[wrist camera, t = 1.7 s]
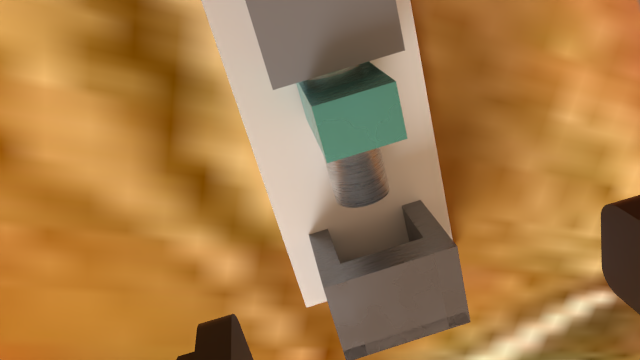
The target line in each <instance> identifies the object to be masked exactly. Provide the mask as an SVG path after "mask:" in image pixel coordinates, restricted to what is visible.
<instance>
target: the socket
mask: <svg viewBox="0 0 640 360" xmlns="http://www.w3.org/2000/svg"><path fill="white" fill-rule="evenodd" d="M402 210H403V215H404V219H405V224H406V229H407V233H408V238H409V242H408V243H405V244H402V245H399V246H395V247H392V248H389V249H386V250H383V251H380V252H376V253H373V254H370V255H367V256H364V257H361V258H357V259H354V260H351V261H348V262H345V263H342V264H340V261H339V259H338V256H337V253H336V250H335V247H334V245H333V242H332V239H331V236H330V233H329V231H328V229H325V230H322V231H319V232H316V233H312V234H309V238H310V242H311V246H312V249H313V253H314V256H315V260H316V264H317V267H318V271H319V274H320V278H321V282H322V285H323V289H324V292H325V295H326V298H327V301H328V304H329V308H330V311H331V314H332V317H333V320H334V323H335V326H336V330H337V333H338V336H339V339H340V342H341V345H342V348H343V352H344V355H345V358H346V360H354V359H357V358H361V357H364V356H367V355H370V354H373V353H376V352H379V351H382V350H385V349H388V348H392V347H395V346H398V345H401V344H404V343H407V342H410V341H413V340H416V339H419V338H423V337H426V336H429V335H432V334H435V333H438V332H441V331H444V330H447V329H450V328H454V327H457V326H460V325H463V324H466V323H469V322H470V317H469V312H468V306H467V300H466V294H465V289H464V283H463V277H462V271H461V266H460V260H459V254H458V248H457V245H456V244H455V243H454V242H453V240H452V239H451V238H450V236H449V235H448V234H447V233H446V231H445V230H444V229H443V228H442V226H441V225H440V224H439V223H438V221H437V220H436V219H435V217H434V216H433V215H432V214H431V212H430V211H429V210H428V209H427V207H426V206H425V205H424V203H423V202H422V201H421V200H418V201H415V202H412V203H408V204H405V205H402Z"/></svg>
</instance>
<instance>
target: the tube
mask: <svg viewBox="0 0 640 360" xmlns="http://www.w3.org/2000/svg"><path fill="white" fill-rule="evenodd" d="M296 84H297V88H298V91H299V95H300V98H301V102H302V105H303V109H304V112H305V116H306V119H307V121H308V123H309V126H310V128H311V130H312V132H313V134H314V136H315V138H316V141H317V143H318V145H319V147H320V149H321V151H322V153H323V156H324V160H325V164H326V167H327V171H328V174H329V178H330V181H331V185H332V189H333V192H334V196H335V199H336V202H337V203H338V204H339V205H340V206H343V207H347V208H358V207H364V206H368V205H371V204H374V203H376V202H378V201H380V200H382V199H383V198H384V197H385V196H386V195H387V194H388V193H389V191H390V186H389V182H388V178H387V173H386V169H385V164H384V160H383V156H382V151H381V147H382V146H385V145H389V144H392V143H395V142H398V141H402V140H405V139H408V138H407V133H406V128H405V123H404V118H403V113H402V108H401V104H400V99H399V94H398V89H397V84H396V81H395V80H394V79H392V78H391V77H389V76H388V75H387V74H385V73H384V72H383V71H381V70H380V69H379V68H377V67H376V66H374V65H373V64H372V63H370V62H369V61H368V62H365V63H361V64H358V65H355V66H351V67H348V68H345V69H342V70H338V71H335V72H332V73H328V74H325V75H322V76H318V77H315V78H312V79H308V80H305V81H302V82H298V83H296Z"/></svg>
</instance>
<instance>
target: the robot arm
mask: <svg viewBox="0 0 640 360" xmlns="http://www.w3.org/2000/svg"><path fill="white" fill-rule="evenodd" d="M601 249H602V270H603V274H604V276H605V279H606V281H607V283H608V285H609V286H610V288H611V289H612V290H613V292H614V293H615V294H616V295H617V296H619V297H620V298H621V299H622V300H623V301H624V302H626V303H627V304H628V305H629V306H630V307H631V308H633V309H634V310H635V311H636V312H637V313H638V314H640V195H638V196H635V197H631V198H628V199H625V200H621V201H618V202H614V203H611V204H608V205H605V206H604V207H603V209H602V212H601ZM176 360H253V358H252V355H251V352H250V350H249V347H248V345H247V342H246V339H245V337H244V334H243V332H242V329H241V326H240V324H239V321H238V319H237V317H236V316H235V314H231V315H228V316H225V317H221V318H218V319H214V320H211V321H208V322H204V323H201V324H199V325H198V327H197V335H196V344H195V352H192V353H188V354H185V355H182V356H178V358H177V359H176Z"/></svg>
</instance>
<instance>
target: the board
mask: <svg viewBox="0 0 640 360" xmlns="http://www.w3.org/2000/svg"><path fill="white" fill-rule="evenodd" d="M201 1H202V4H203V7H204V10H205V13H206V15H207V18H208V21H209V24H210V27H211V30H212V33H213V36H214V39H215V42H216V45H217V48H218V50H219V53H220V56H221V59H222V62H223V65H224V68H225V71H226V74H227V77H228V80H229V83H230V85H231V88H232V91H233V94H234V97H235V100H236V103H237V106H238V109H239V112H240V115H241V118H242V121H243V123H244V126H245V129H246V132H247V135H248V138H249V141H250V144H251V147H252V150H253V153H254V156H255V158H256V161H257V164H258V167H259V170H260V173H261V176H262V179H263V182H264V185H265V188H266V191H267V193H268V196H269V199H270V202H271V205H272V208H273V211H274V214H275V217H276V220H277V223H278V226H279V228H280V231H281V234H282V237H283V240H284V243H285V246H286V249H287V252H288V255H289V258H290V261H291V264H292V266H293V269H294V272H295V275H296V278H297V281H298V284H299V287H300V290H301V293H302V296H303V299H304V301H305V304H306V307H310V306H313V305H316V304H319V303H322V302H326V301H327V298H326V295H325V292H324V289H323V285H322V282H321V278H320V274H319V271H318V267H317V264H316V260H315V256H314V253H313V249H312V246H311V242H310V238H309V234H312V233H316V232H319V231H322V230H325V229H328V231H329V233H330V236H331V239H332V242H333V245H334V247H335V250H336V253H337V256H338V259H339V261H340V264H342V263H345V262H348V261H351V260H354V259H357V258H361V257H364V256H367V255H370V254H373V253H376V252H380V251H383V250H386V249H389V248H392V247H395V246H399V245H402V244H405V243H408V242H409V238H408V233H407V229H406V224H405V219H404V215H403V210H402V205H405V204H408V203H412V202H415V201H418V200H421V201H422V202H423V203H424V205H425V206H426V207H427V209H428V210H429V211H430V212H431V214H432V215H433V216H434V217H435V219H436V220H437V221H438V223H439V224H440V225H441V226H442V228H443V229H444V230H445V231H446V233H447V234H448V235H449V236H450V238H451V239H452V233H451V227H450V222H449V216H448V210H447V205H446V199H445V193H444V188H443V182H442V176H441V171H440V165H439V160H438V154H437V148H436V143H435V137H434V131H433V126H432V120H431V114H430V109H429V103H428V97H427V92H426V86H425V81H424V75H423V69H422V64H421V58H420V52H419V47H418V41H417V35H416V30H415V24H414V18H413V13H412V7H411V2H410V0H201ZM368 61H369V62H370V63H372V64H373V65H374V66H376V67H377V68H379V69H380V70H381V71H383V72H384V73H385V74H387V75H388V76H389V77H391V78H392V79H394V80H395V81H396V84H397V89H398V94H399V99H400V104H401V108H402V113H403V118H404V123H405V128H406V133H407V138H408V139H405V140H402V141H398V142H395V143H392V144H389V145H385V146H382V147H381V151H382V156H383V160H384V164H385V169H386V173H387V178H388V182H389V186H390V191H389V193H388V194H387V195H386V196H385V197H384V198H383V199H382V200H380V201H378V202H376V203H374V204H371V205H368V206H364V207H358V208H347V207H343V206H340V205H339V204H338V203H337V202H336V199H335V196H334V192H333V189H332V185H331V181H330V178H329V174H328V171H327V167H326V164H325V160H324V156H323V153H322V151H321V149H320V147H319V145H318V143H317V141H316V138H315V136H314V134H313V132H312V130H311V128H310V126H309V123H308V121H307V119H306V116H305V112H304V109H303V105H302V102H301V98H300V95H299V91H298V88H297V84H296V83H298V82H302V81H305V80H308V79H312V78H315V77H318V76H322V75H325V74H328V73H332V72H335V71H338V70H342V69H345V68H348V67H351V66H355V65H358V64H361V63H365V62H368ZM452 240H453V239H452Z"/></svg>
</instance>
